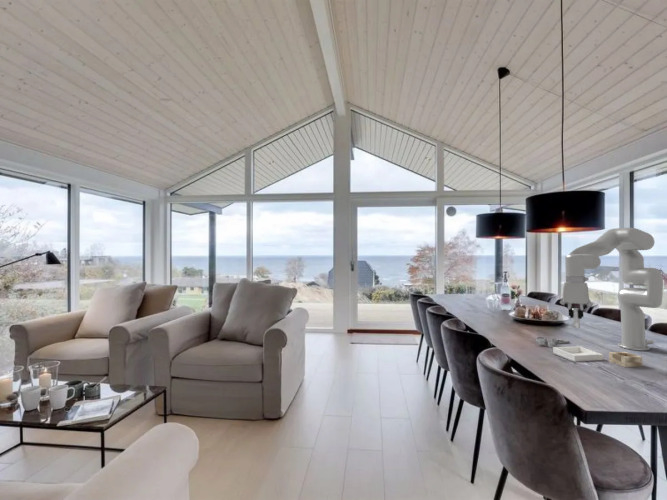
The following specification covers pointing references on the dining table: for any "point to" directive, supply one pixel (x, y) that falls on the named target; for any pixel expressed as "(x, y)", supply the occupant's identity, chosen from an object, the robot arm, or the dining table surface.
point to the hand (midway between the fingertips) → (576, 317)
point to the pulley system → (550, 344)
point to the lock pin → (575, 318)
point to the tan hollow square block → (625, 359)
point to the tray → (577, 353)
